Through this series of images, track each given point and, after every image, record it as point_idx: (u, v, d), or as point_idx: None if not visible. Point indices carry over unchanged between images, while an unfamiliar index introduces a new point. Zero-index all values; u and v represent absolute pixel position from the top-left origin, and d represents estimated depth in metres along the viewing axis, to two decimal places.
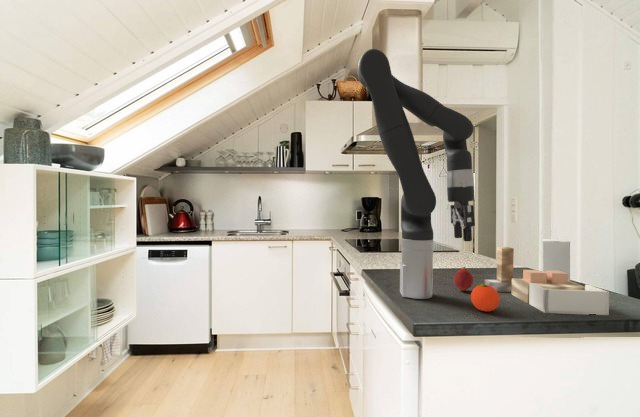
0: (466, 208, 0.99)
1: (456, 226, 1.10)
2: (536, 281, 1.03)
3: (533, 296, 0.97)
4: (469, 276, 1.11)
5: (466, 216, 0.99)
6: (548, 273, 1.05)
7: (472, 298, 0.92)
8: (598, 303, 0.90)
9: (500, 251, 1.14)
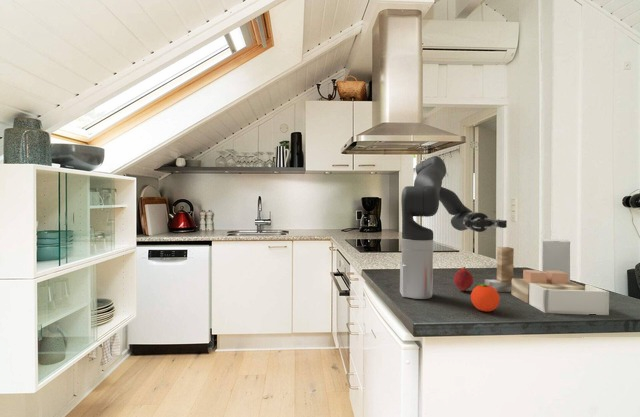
0: None
1: None
2: (536, 281, 1.03)
3: (533, 296, 0.97)
4: (469, 276, 1.11)
5: None
6: (548, 273, 1.05)
7: (472, 298, 0.92)
8: (598, 303, 0.90)
9: (500, 251, 1.14)
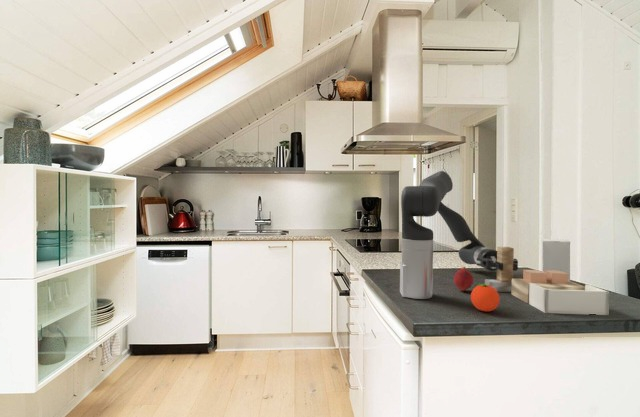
0: (516, 260, 1.20)
1: None
2: (536, 281, 1.03)
3: (533, 296, 0.97)
4: (469, 276, 1.11)
5: (517, 261, 1.18)
6: (548, 273, 1.05)
7: (472, 298, 0.92)
8: (598, 303, 0.90)
9: (500, 251, 1.14)
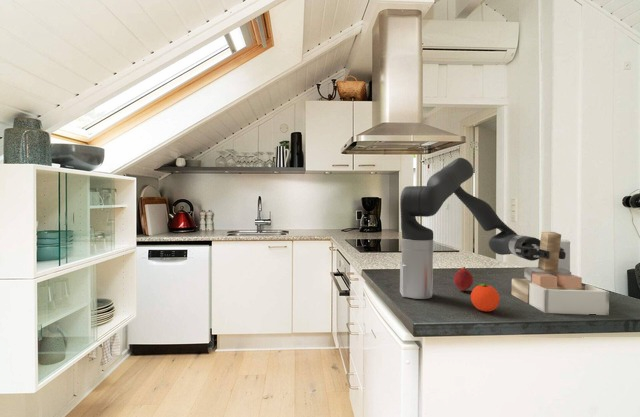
0: None
1: None
2: (546, 285, 0.98)
3: (533, 296, 0.97)
4: (469, 276, 1.11)
5: (562, 249, 1.06)
6: (560, 277, 1.00)
7: (472, 298, 0.92)
8: (598, 303, 0.90)
9: (546, 237, 1.02)
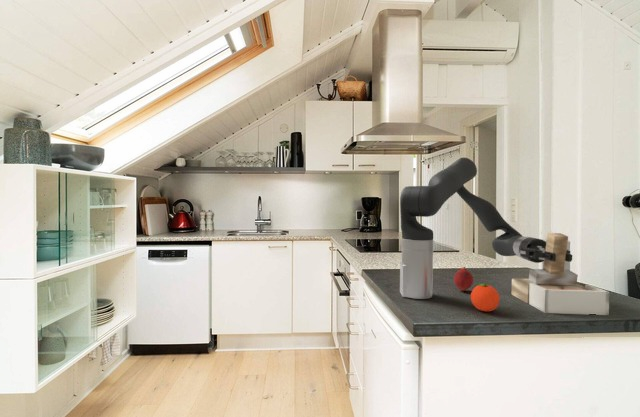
0: None
1: None
2: None
3: (533, 296, 0.97)
4: (469, 276, 1.11)
5: (568, 251, 1.03)
6: None
7: (472, 298, 0.92)
8: (598, 303, 0.90)
9: (552, 239, 0.99)
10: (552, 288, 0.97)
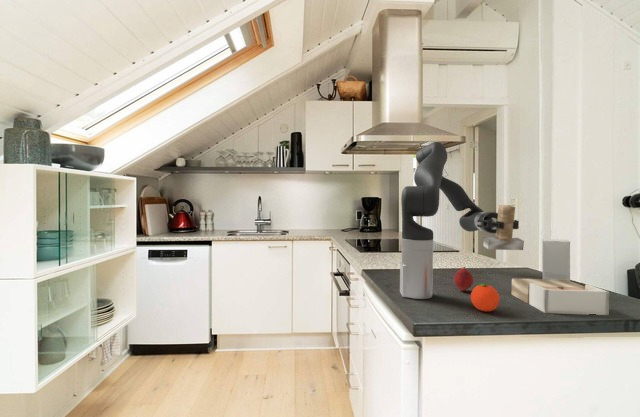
0: None
1: None
2: None
3: (533, 296, 0.97)
4: (469, 276, 1.11)
5: None
6: None
7: (472, 298, 0.92)
8: (598, 303, 0.90)
9: (501, 210, 1.13)
10: (552, 288, 0.97)
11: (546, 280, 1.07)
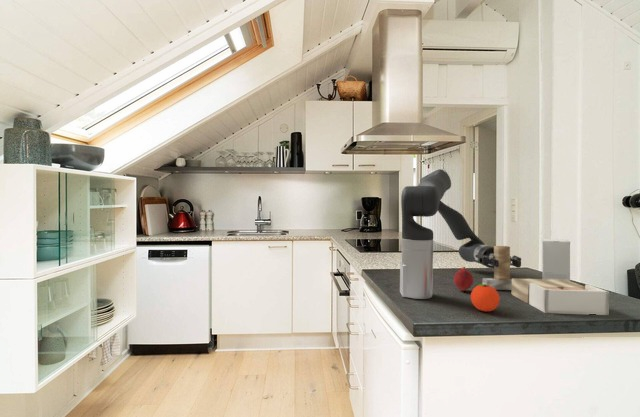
0: None
1: None
2: None
3: (533, 296, 0.97)
4: (469, 276, 1.11)
5: None
6: None
7: (472, 298, 0.92)
8: (598, 303, 0.90)
9: (497, 250, 1.16)
10: (552, 288, 0.97)
11: (546, 280, 1.07)
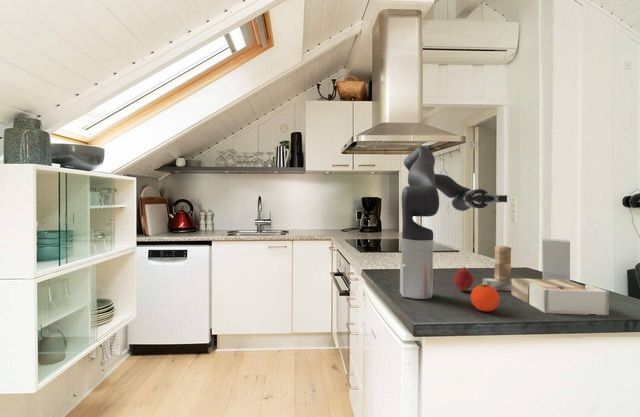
0: None
1: None
2: None
3: (533, 296, 0.97)
4: (469, 276, 1.11)
5: None
6: None
7: (472, 298, 0.92)
8: (598, 303, 0.90)
9: (498, 250, 1.15)
10: (552, 288, 0.97)
11: (546, 280, 1.07)
